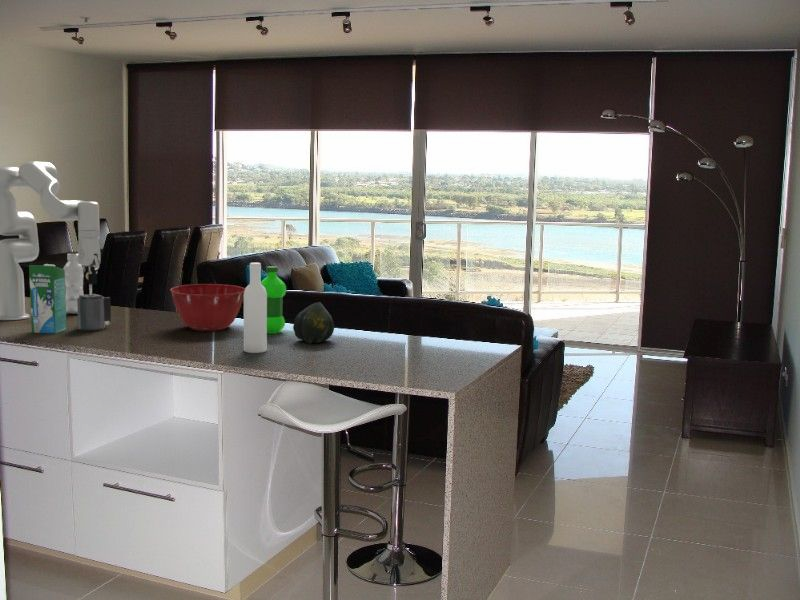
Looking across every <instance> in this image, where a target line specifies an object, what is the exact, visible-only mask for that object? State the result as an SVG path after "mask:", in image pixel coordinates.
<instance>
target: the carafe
mask: <svg viewBox="0 0 800 600" xmlns="http://www.w3.org/2000/svg"><path fill="white" fill-rule="evenodd" d="M111 305H112V304H111V297H110V296H107V297H105V296H103V295H101V294H96V293H92V296H89V294H83V295H79V297H78V298H77V309H78V314H77V328H78V331H80V332H98V331H103V330H105V328H106V325H105V321H109V322H111V321H112V315H111V311H112V310H111V307H112V306H111Z"/></svg>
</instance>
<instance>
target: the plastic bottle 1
mask: <svg viewBox="0 0 800 600" xmlns="http://www.w3.org/2000/svg"><path fill="white" fill-rule="evenodd" d="M66 257H67V258H66V259H67V262H66V263H65V265H64V266H63V269H64V270H65V296H66V314H71V315H78V309H77V298H78V297H79V295H84V277H83V268H82V265H81V264H79V263H78V253H67V256H66Z"/></svg>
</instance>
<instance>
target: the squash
mask: <svg viewBox="0 0 800 600" xmlns="http://www.w3.org/2000/svg"><path fill="white" fill-rule="evenodd" d="M292 326H293V327H292V330H293V331H294V335H295V337H296V338H297V339H298V340H302V341H305V343H307V344H309V345H311V344H312V343H315V344H319V343H321V342H324V341H328V340H329V339H330V338H331V337H332V336H333V334H334V331H335V324H334V320H333V317H332V315H331V314H330V312H329V311H328V310H327V309H326V307H325V306H324V304H323V303H322V302H320V301H319V302H314V303H312V304H310V305H308V306H307V307H305V308H304V309H302V310H301V311H300V312H298V314H297V315H296V317H295V319H294V321H293V325H292Z"/></svg>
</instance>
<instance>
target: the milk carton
mask: <svg viewBox="0 0 800 600" xmlns="http://www.w3.org/2000/svg"><path fill="white" fill-rule="evenodd" d="M28 268H29V269H28V271H29V272H28V273H29V274H28V275H29V293H30V294H29V298H30V301H29V302H30V322H31V324H30V325H31V327H30V328H31V333H32V334H52V335H53V334H57V333H61V332H63V331H66V330H67V312H66V286H65V270H64V268H60V267H57V266H56V265H55V264H50V263H49V264H48V263H45V264H43V265H38V264H36V265H35V264H34V265H33V264H30V265H28Z"/></svg>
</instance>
